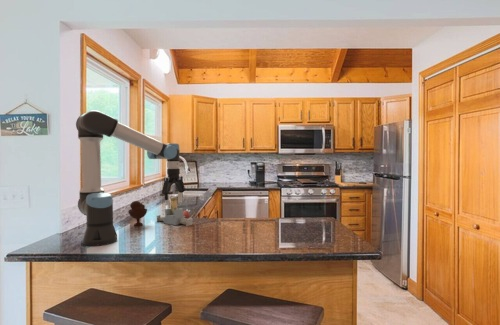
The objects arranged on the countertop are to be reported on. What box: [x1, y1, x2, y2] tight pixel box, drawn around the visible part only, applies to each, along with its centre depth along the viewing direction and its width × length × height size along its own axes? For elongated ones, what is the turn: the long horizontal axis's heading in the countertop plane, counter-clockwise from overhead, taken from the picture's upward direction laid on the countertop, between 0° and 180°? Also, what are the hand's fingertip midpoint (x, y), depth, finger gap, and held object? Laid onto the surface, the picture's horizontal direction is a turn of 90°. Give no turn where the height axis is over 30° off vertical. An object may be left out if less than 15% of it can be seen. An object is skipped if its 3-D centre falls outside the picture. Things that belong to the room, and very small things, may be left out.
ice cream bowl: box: [127, 200, 148, 227], centre depth 184 cm, size 11×11×15 cm
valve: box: [156, 207, 194, 227], centre depth 192 cm, size 15×26×9 cm, turn 59°
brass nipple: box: [169, 196, 178, 215], centre depth 189 cm, size 4×4×12 cm
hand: (174, 203), depth 189 cm, fingers open, 10 cm apart
